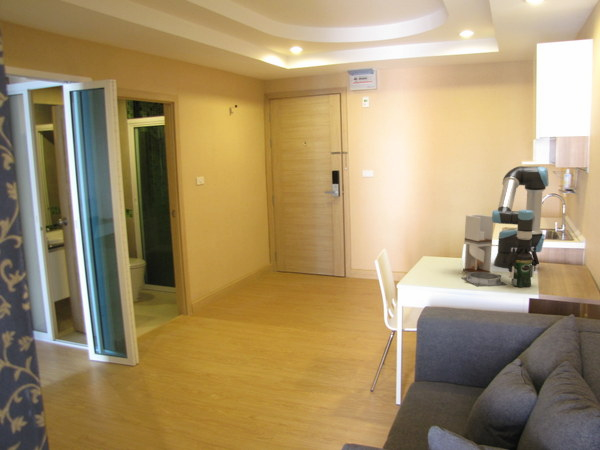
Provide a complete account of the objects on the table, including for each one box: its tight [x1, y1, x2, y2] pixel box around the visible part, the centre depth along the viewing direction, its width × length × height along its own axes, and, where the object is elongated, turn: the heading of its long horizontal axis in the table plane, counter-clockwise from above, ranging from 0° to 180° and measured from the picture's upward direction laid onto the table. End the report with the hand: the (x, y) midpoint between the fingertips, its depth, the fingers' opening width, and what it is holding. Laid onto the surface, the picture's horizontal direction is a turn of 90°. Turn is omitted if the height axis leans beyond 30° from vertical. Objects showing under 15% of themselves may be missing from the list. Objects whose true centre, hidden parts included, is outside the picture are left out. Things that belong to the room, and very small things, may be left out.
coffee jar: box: [510, 253, 533, 288], centre depth 276 cm, size 10×8×19 cm
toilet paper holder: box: [462, 214, 494, 274], centre depth 303 cm, size 11×11×35 cm
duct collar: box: [461, 272, 508, 287], centre depth 285 cm, size 21×18×4 cm
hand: (521, 277), depth 277 cm, fingers open, 11 cm apart
